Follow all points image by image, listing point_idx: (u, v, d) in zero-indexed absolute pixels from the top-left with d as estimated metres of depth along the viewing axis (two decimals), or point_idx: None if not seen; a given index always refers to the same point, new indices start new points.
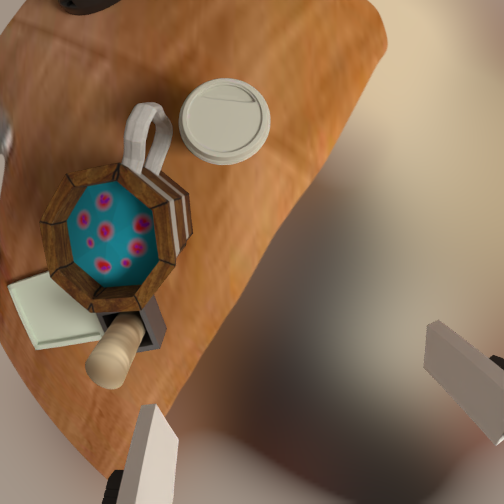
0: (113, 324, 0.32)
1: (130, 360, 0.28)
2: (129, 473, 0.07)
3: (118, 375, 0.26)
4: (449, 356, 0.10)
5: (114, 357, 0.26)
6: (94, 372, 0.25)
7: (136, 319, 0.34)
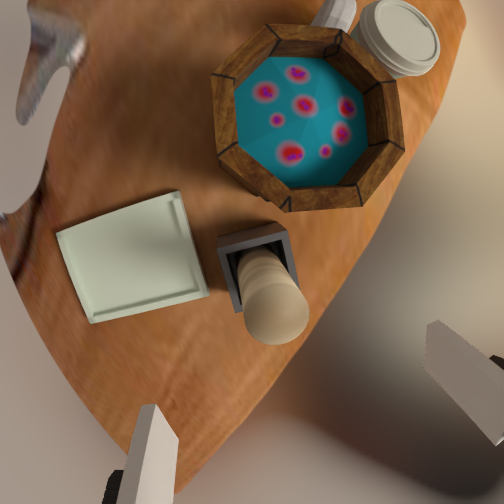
0: (255, 259, 0.26)
1: None
2: (129, 473, 0.07)
3: (300, 317, 0.20)
4: (449, 356, 0.10)
5: (297, 290, 0.20)
6: (259, 319, 0.19)
7: (275, 255, 0.28)
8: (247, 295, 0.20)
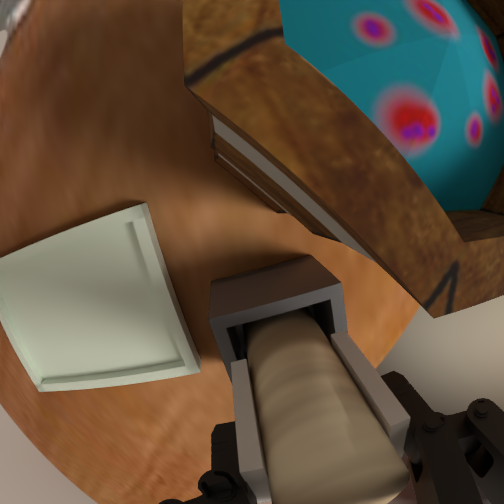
0: (285, 348, 0.12)
1: None
2: (242, 419, 0.10)
3: (388, 494, 0.06)
4: (345, 366, 0.12)
5: (395, 455, 0.06)
6: None
7: (317, 326, 0.15)
8: (281, 470, 0.07)
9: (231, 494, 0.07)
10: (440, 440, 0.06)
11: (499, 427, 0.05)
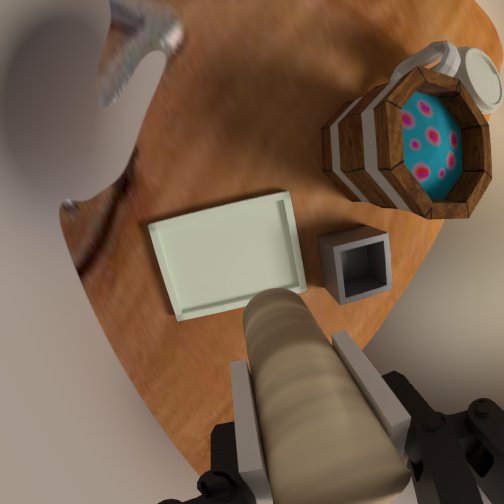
0: (286, 349, 0.12)
1: None
2: (241, 420, 0.10)
3: (389, 494, 0.06)
4: (346, 366, 0.12)
5: (396, 455, 0.06)
6: None
7: (318, 327, 0.15)
8: (282, 471, 0.07)
9: (230, 494, 0.06)
10: (441, 440, 0.06)
11: (500, 427, 0.05)
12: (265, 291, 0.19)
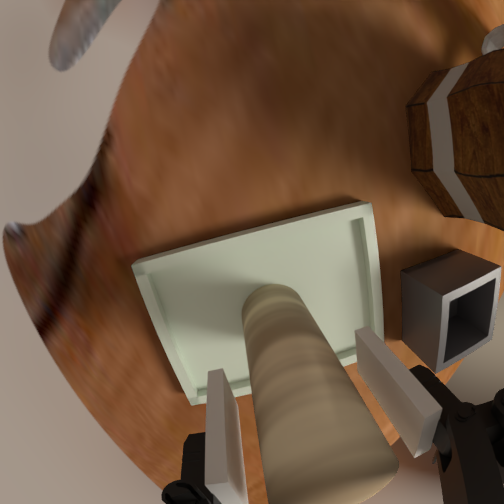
0: (281, 341, 0.13)
1: None
2: (212, 431, 0.09)
3: (378, 482, 0.07)
4: (371, 362, 0.12)
5: (384, 442, 0.07)
6: (300, 500, 0.07)
7: (313, 321, 0.16)
8: (274, 454, 0.08)
9: None
10: (470, 429, 0.06)
11: None
12: (263, 287, 0.20)
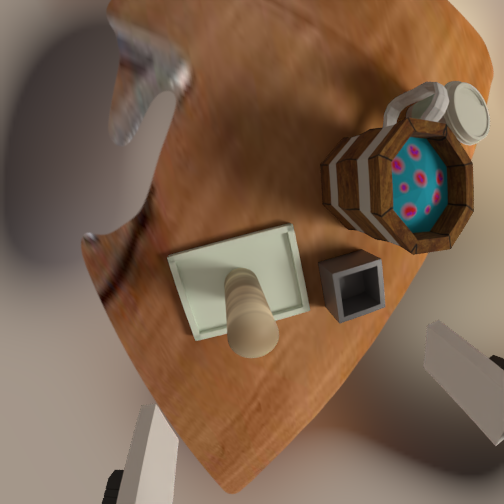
0: (238, 287, 0.31)
1: None
2: (129, 473, 0.07)
3: (271, 337, 0.25)
4: (449, 356, 0.10)
5: (269, 315, 0.25)
6: (239, 338, 0.25)
7: (257, 283, 0.34)
8: (230, 319, 0.25)
9: None
10: None
11: None
12: (235, 269, 0.37)
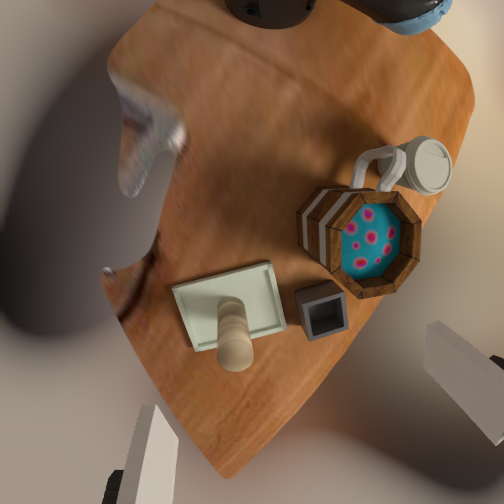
0: (227, 317, 0.40)
1: None
2: (129, 473, 0.07)
3: (248, 357, 0.34)
4: (449, 356, 0.10)
5: (247, 342, 0.34)
6: (225, 358, 0.34)
7: (242, 311, 0.43)
8: (219, 344, 0.35)
9: None
10: None
11: None
12: (226, 297, 0.47)
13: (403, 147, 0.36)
